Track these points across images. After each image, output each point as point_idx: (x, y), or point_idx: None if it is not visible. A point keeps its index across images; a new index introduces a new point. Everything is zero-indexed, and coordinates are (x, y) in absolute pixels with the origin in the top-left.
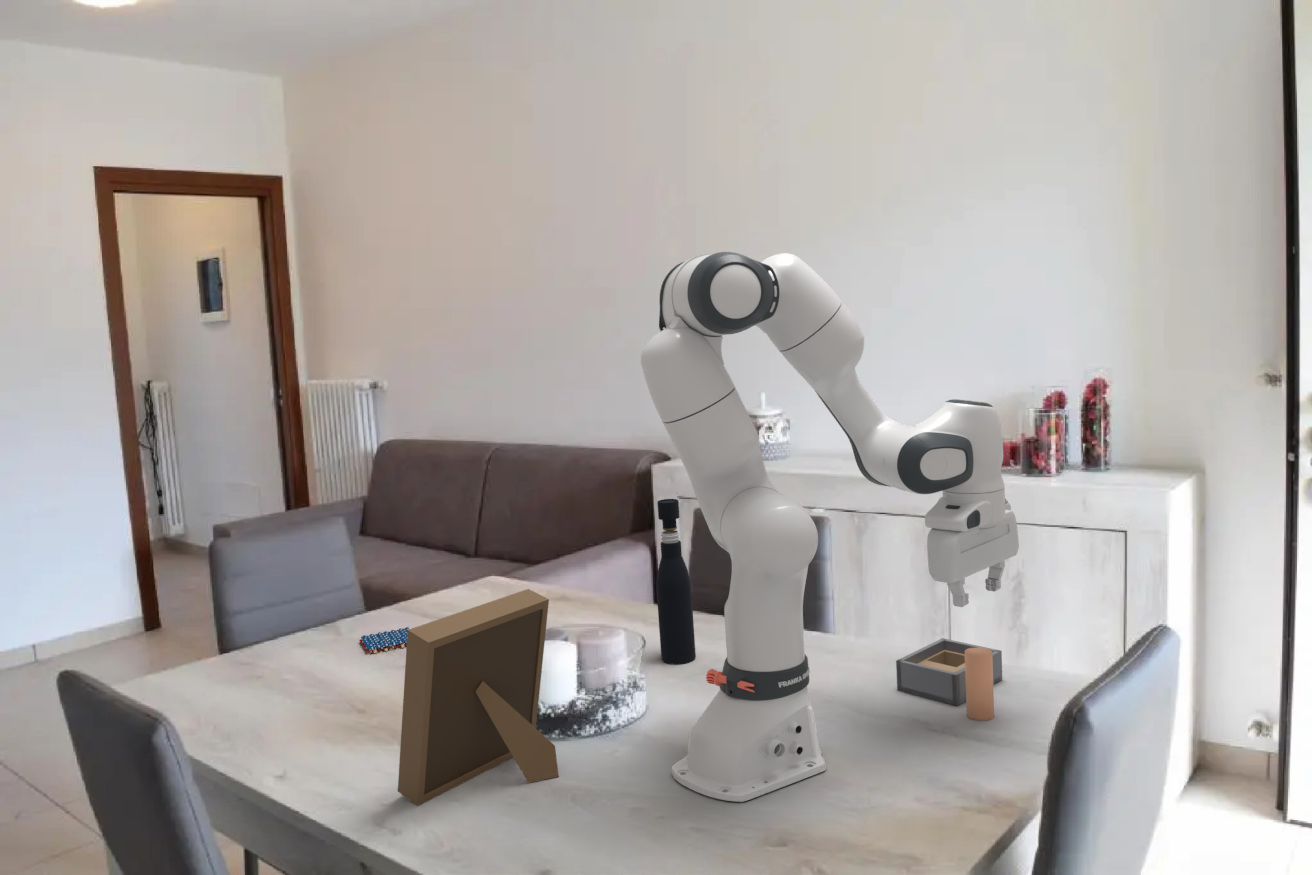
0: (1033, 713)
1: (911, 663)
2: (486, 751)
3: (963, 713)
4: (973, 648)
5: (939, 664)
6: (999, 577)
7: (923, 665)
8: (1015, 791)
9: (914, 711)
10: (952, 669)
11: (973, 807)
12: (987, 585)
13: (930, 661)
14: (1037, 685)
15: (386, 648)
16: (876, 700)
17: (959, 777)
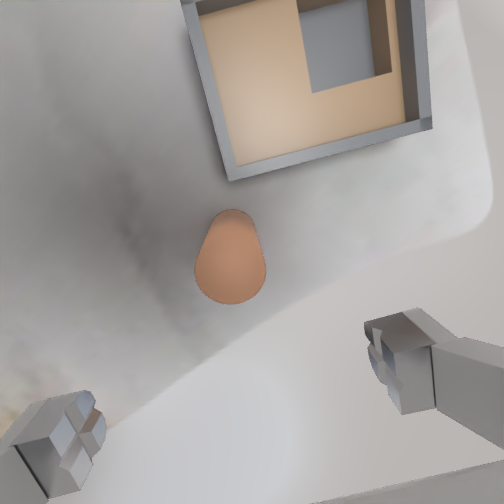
0: (304, 276)
1: (197, 41)
2: None
3: (215, 209)
4: (240, 245)
5: (297, 48)
6: (453, 414)
7: (212, 76)
8: None
9: (147, 146)
10: (294, 98)
11: None
12: (378, 338)
13: (296, 12)
14: (413, 197)
15: None
16: (115, 45)
17: (58, 361)
